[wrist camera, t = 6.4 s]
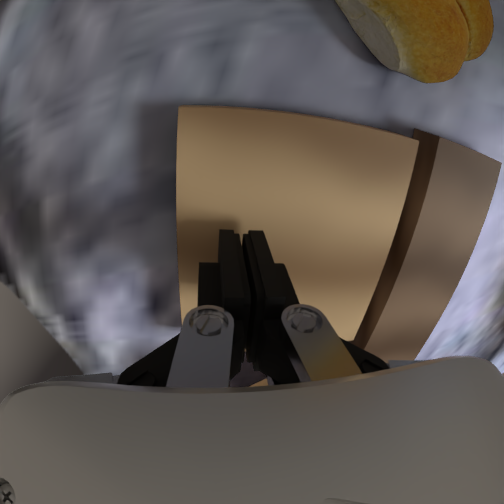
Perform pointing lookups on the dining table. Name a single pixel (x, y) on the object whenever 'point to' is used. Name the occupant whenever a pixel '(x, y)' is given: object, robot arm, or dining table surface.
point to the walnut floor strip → (428, 246)
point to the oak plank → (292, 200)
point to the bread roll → (422, 33)
